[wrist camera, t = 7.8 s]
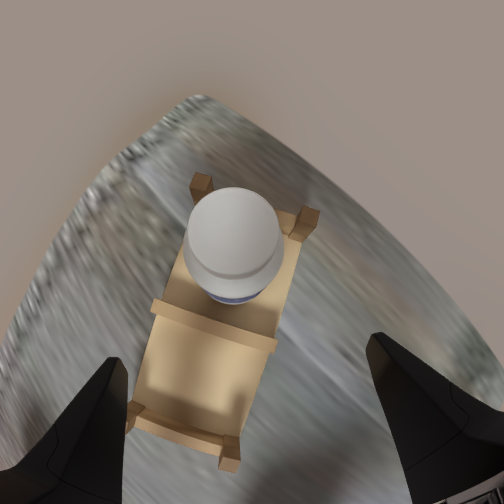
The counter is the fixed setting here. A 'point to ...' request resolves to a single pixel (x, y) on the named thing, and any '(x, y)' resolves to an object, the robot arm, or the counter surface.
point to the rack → (211, 351)
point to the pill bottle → (233, 245)
